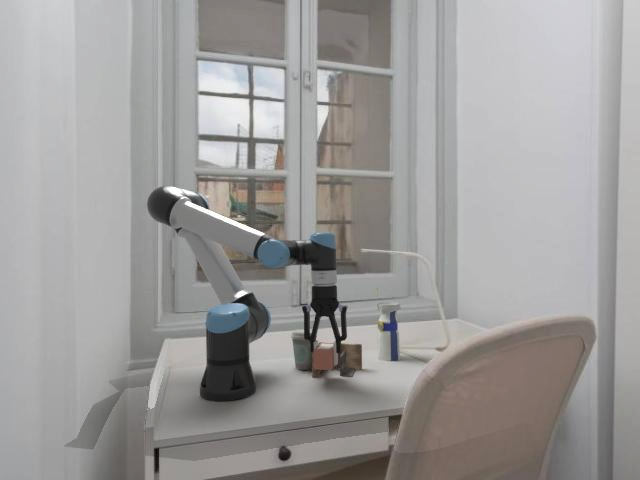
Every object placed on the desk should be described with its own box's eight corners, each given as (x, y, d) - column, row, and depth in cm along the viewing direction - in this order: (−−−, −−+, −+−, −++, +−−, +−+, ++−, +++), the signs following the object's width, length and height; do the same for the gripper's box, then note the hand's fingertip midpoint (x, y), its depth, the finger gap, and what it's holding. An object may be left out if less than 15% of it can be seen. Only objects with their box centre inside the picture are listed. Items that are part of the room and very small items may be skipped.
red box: (313, 369, 116) (313, 349, 116) (322, 360, 125) (321, 342, 125) (330, 370, 115) (330, 350, 115) (337, 361, 124) (337, 343, 124)
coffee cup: (286, 367, 134) (285, 330, 134) (306, 362, 140) (305, 327, 140) (302, 373, 128) (302, 334, 128) (322, 367, 134) (322, 330, 134)
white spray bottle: (385, 362, 138) (384, 289, 138) (372, 356, 146) (372, 286, 146) (405, 359, 141) (404, 287, 141) (392, 354, 149) (391, 285, 149)
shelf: (312, 377, 124) (311, 350, 124) (319, 366, 135) (319, 342, 135) (357, 379, 121) (357, 352, 121) (362, 368, 132) (361, 344, 132)
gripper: (291, 286, 119) (293, 366, 118) (353, 285, 115) (355, 368, 114) (298, 283, 126) (299, 359, 125) (356, 283, 122) (358, 361, 122)
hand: (326, 363), depth 120 cm, fingers closed on red box, 5 cm apart
